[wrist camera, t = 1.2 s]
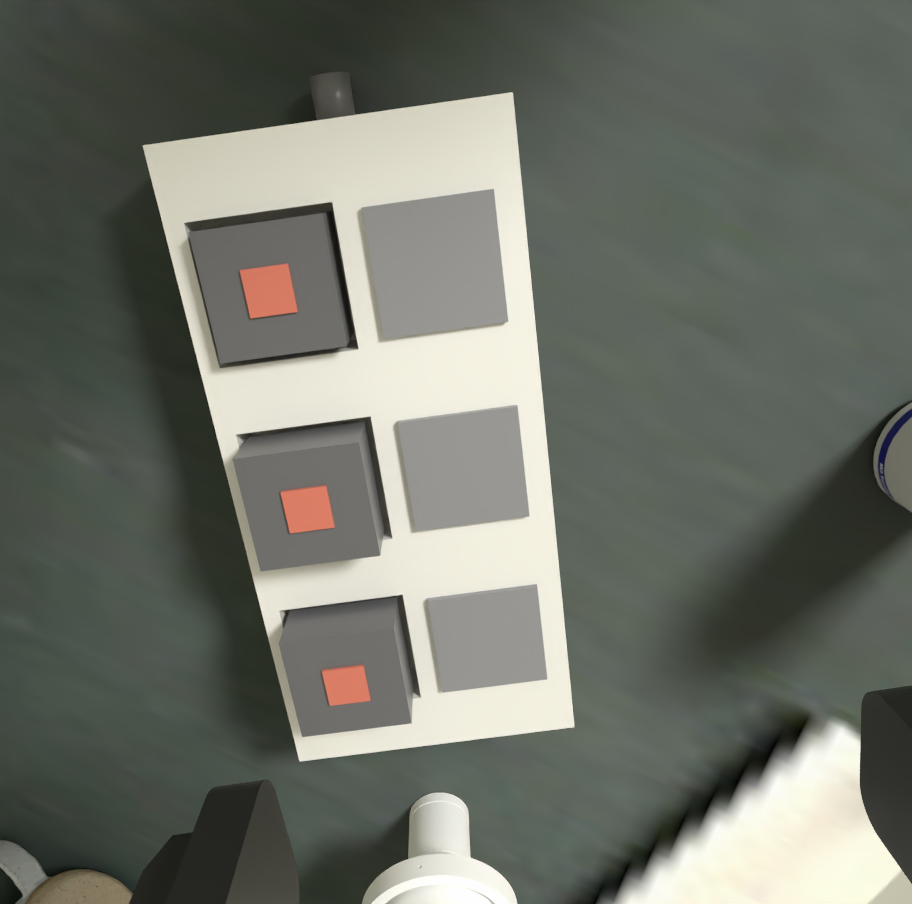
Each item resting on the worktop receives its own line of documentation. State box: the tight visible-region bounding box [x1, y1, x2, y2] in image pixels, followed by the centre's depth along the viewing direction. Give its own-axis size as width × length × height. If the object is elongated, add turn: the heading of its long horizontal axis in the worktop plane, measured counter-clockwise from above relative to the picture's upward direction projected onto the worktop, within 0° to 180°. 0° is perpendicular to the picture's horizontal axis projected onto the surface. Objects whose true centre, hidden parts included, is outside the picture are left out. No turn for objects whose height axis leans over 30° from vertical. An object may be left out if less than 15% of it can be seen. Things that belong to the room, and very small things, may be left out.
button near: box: [188, 211, 354, 364], centre depth 26 cm, size 4×4×2 cm
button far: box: [279, 596, 413, 737], centre depth 30 cm, size 4×4×2 cm
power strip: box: [143, 72, 574, 761], centre depth 30 cm, size 27×12×4 cm, turn 8°
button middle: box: [233, 421, 384, 571], centre depth 28 cm, size 4×4×2 cm
